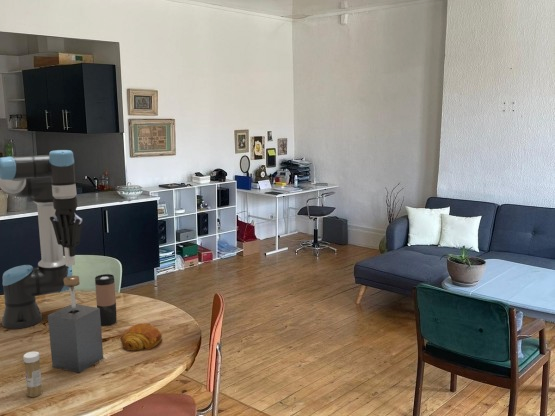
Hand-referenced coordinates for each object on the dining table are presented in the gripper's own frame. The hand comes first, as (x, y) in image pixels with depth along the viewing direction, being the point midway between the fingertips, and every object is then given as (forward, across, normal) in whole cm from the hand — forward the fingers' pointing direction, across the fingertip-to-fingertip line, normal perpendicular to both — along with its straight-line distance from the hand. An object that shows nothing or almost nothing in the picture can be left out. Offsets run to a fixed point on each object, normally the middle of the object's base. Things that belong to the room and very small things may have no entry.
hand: (70, 265), depth 190 cm
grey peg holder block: (+36, 0, 0) cm, 36 cm away
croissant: (+36, +11, +22) cm, 44 cm away
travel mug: (+36, -15, +33) cm, 51 cm away
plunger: (+25, 0, 0) cm, 25 cm away
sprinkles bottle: (+36, +3, -22) cm, 42 cm away
